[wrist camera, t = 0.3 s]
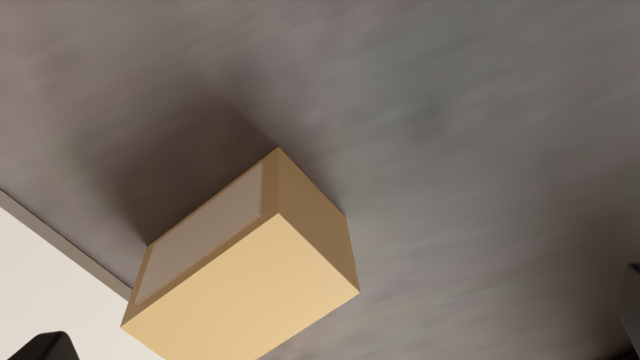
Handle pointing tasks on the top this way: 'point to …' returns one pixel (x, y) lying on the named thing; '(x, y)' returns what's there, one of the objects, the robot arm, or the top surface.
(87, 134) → the top surface
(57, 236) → the shelf
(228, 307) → the tea box
